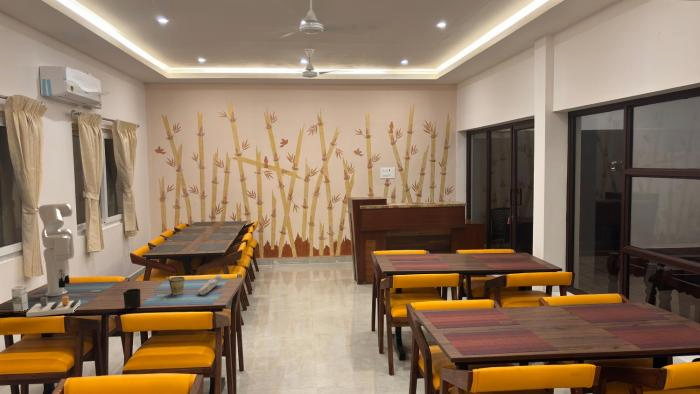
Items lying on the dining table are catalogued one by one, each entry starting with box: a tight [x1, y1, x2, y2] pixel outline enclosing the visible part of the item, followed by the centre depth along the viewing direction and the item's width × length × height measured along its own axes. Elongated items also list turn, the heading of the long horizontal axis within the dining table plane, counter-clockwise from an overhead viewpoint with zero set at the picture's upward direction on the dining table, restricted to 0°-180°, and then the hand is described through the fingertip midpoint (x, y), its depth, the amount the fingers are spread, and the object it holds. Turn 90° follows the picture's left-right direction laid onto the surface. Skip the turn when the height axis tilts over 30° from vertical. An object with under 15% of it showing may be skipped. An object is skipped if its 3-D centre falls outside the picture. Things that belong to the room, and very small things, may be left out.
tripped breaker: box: [61, 295, 70, 305], centre depth 300 cm, size 2×3×4 cm
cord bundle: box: [51, 297, 80, 310], centre depth 300 cm, size 15×12×2 cm
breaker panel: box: [25, 299, 82, 318], centre depth 299 cm, size 18×24×3 cm
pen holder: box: [122, 288, 142, 310], centre depth 302 cm, size 9×9×10 cm
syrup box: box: [10, 285, 29, 312], centre depth 298 cm, size 6×6×14 cm
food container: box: [196, 274, 222, 296], centre depth 338 cm, size 12×30×6 cm, turn 177°
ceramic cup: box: [168, 276, 186, 296], centre depth 332 cm, size 13×10×10 cm
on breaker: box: [40, 296, 49, 306], centre depth 300 cm, size 2×3×4 cm
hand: (64, 285), depth 299 cm, fingers open, 9 cm apart
